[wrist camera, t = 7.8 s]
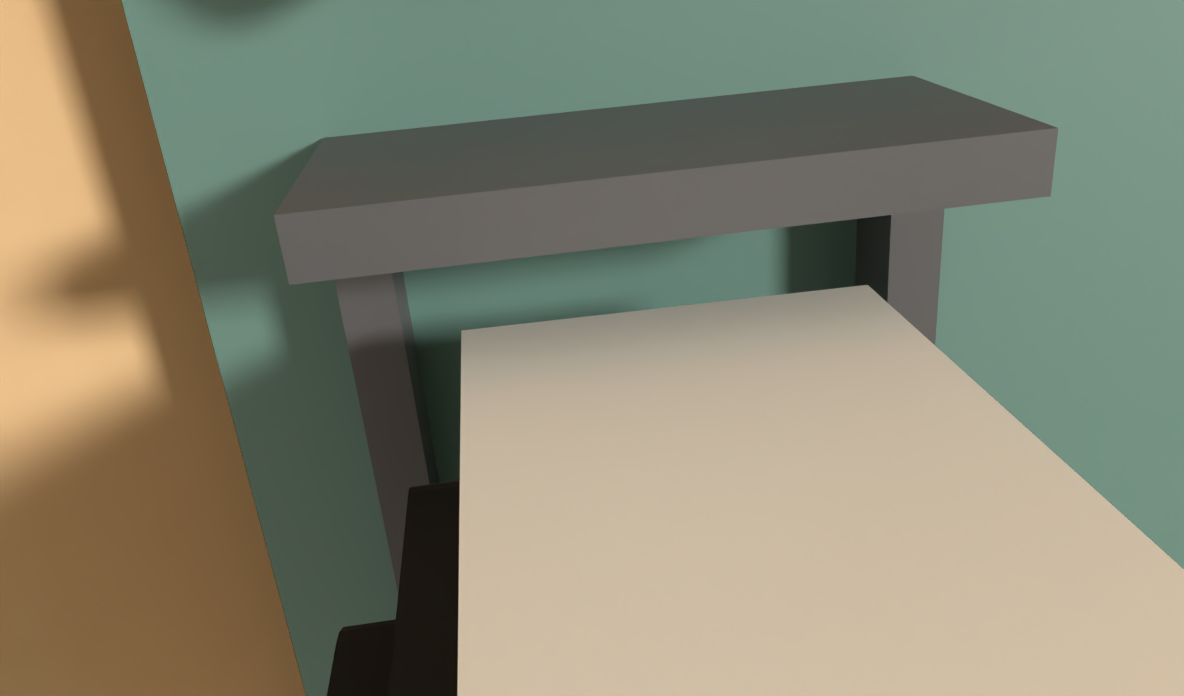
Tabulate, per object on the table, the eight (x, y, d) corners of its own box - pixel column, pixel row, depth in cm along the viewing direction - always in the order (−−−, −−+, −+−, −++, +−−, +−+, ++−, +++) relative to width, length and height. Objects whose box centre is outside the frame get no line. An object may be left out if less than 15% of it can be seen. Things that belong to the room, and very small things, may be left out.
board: (-35, -767, 8) (-451, -1332, 5) (1476, -824, 9) (2166, -1327, 6) (351, 769, 16) (314, 1041, 12) (1172, 644, 17) (1379, 858, 13)
